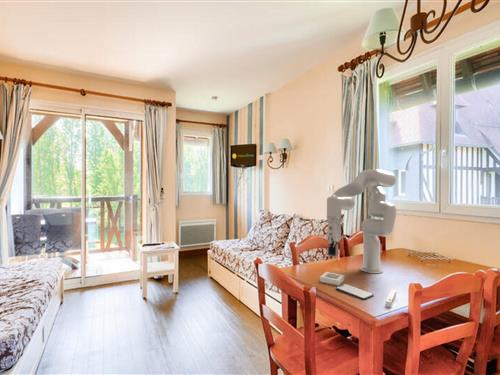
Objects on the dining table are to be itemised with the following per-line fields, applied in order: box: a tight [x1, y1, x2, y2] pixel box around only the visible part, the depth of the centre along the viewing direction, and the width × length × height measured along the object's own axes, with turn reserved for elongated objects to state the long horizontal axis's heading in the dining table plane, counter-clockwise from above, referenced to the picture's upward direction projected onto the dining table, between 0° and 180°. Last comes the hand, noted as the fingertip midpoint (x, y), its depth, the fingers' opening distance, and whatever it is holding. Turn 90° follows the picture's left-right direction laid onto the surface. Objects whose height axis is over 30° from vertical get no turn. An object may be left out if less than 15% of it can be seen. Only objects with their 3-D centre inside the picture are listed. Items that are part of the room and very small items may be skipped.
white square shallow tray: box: [319, 271, 345, 287], centre depth 149 cm, size 10×10×3 cm
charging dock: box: [385, 289, 397, 308], centre depth 125 cm, size 16×2×3 cm, turn 145°
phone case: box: [335, 283, 374, 301], centre depth 134 cm, size 9×2×16 cm
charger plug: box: [327, 242, 339, 257], centre depth 149 cm, size 4×4×7 cm
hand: (333, 253), depth 149 cm, fingers closed on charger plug, 4 cm apart
